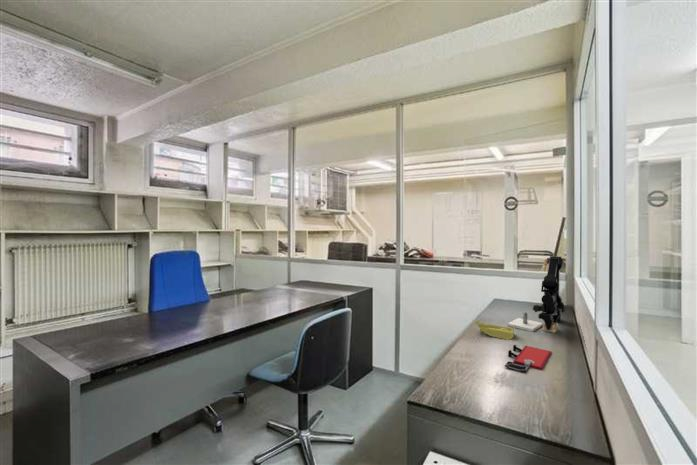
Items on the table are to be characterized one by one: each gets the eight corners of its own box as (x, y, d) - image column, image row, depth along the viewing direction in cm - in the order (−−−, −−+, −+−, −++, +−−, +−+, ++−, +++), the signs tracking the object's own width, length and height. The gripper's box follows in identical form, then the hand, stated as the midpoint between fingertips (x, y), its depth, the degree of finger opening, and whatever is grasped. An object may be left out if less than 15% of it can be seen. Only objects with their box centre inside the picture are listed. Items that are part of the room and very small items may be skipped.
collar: (546, 327, 195) (546, 321, 194) (558, 330, 190) (558, 323, 190) (542, 330, 191) (542, 323, 190) (554, 332, 186) (554, 325, 186)
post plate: (518, 320, 209) (518, 307, 209) (542, 325, 199) (542, 311, 198) (507, 326, 200) (507, 312, 199) (532, 331, 189) (532, 317, 189)
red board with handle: (499, 367, 147) (538, 377, 137) (499, 360, 147) (538, 371, 137) (517, 346, 170) (551, 354, 160) (517, 341, 170) (551, 348, 160)
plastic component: (513, 329, 188) (514, 326, 179) (512, 342, 185) (513, 340, 177) (476, 322, 197) (474, 319, 188) (474, 335, 194) (473, 332, 186)
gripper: (541, 296, 202) (541, 321, 202) (528, 301, 190) (528, 329, 190) (562, 299, 193) (562, 325, 194) (550, 305, 181) (550, 333, 182)
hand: (550, 328), depth 190 cm, fingers closed on collar, 6 cm apart
